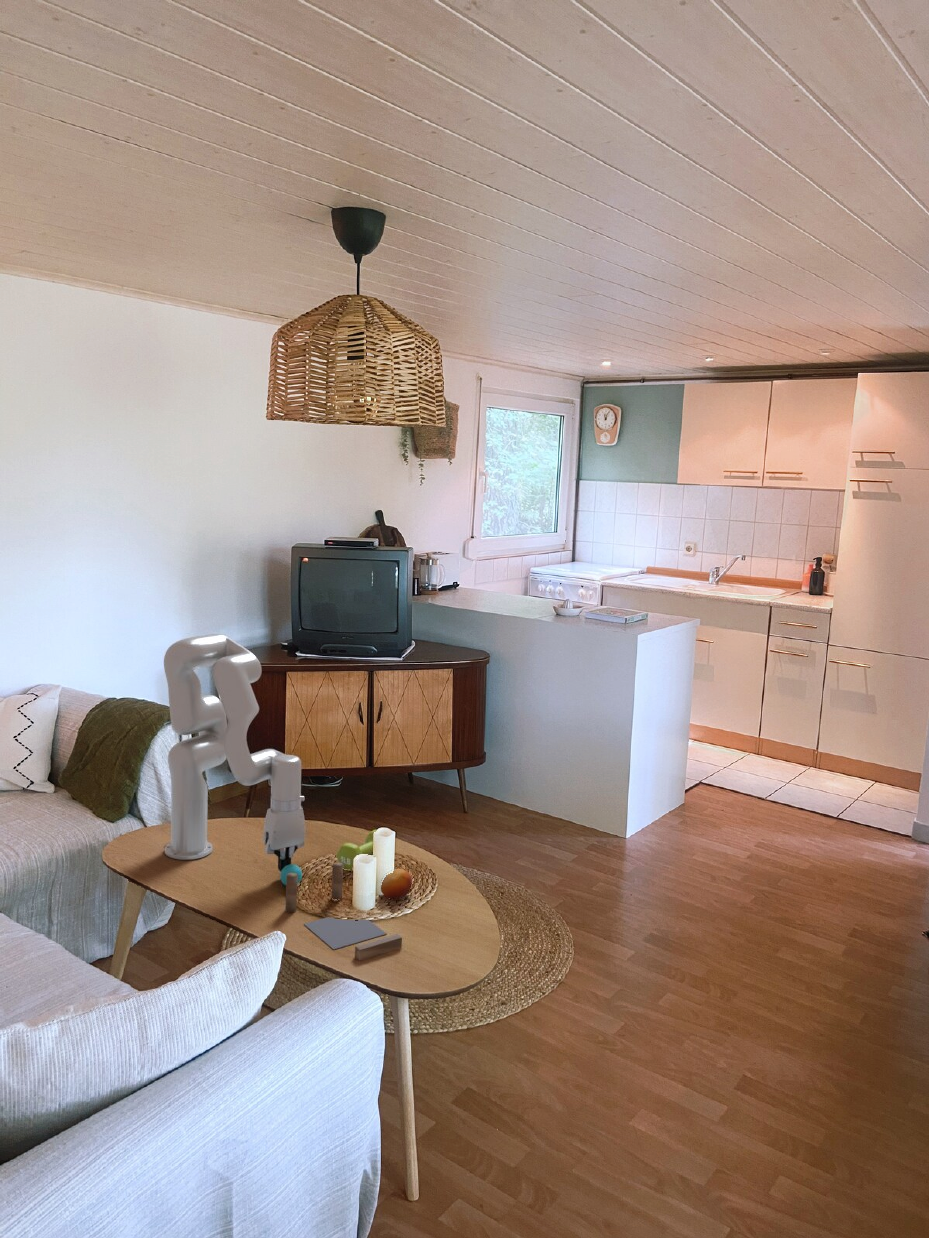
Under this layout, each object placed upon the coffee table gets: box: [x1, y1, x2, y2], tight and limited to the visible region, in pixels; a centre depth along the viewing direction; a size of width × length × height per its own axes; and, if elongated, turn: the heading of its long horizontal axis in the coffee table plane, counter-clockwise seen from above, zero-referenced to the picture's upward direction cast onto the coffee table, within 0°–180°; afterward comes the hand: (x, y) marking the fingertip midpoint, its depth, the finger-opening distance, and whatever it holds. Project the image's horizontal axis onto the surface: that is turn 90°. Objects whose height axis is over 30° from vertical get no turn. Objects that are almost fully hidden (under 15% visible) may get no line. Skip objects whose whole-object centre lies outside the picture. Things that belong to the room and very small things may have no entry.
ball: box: [279, 863, 303, 886], centre depth 237 cm, size 6×6×6 cm
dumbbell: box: [336, 829, 378, 873], centre depth 254 cm, size 16×8×7 cm, turn 148°
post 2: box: [330, 861, 344, 900], centre depth 230 cm, size 3×3×9 cm
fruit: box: [380, 868, 413, 901], centre depth 234 cm, size 8×8×8 cm
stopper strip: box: [354, 933, 403, 962], centre depth 206 cm, size 2×11×2 cm, turn 127°
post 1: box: [284, 873, 298, 914], centre depth 223 cm, size 3×3×9 cm
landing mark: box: [303, 916, 387, 950], centre depth 216 cm, size 14×14×1 cm
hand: (284, 871), depth 240 cm, fingers closed
